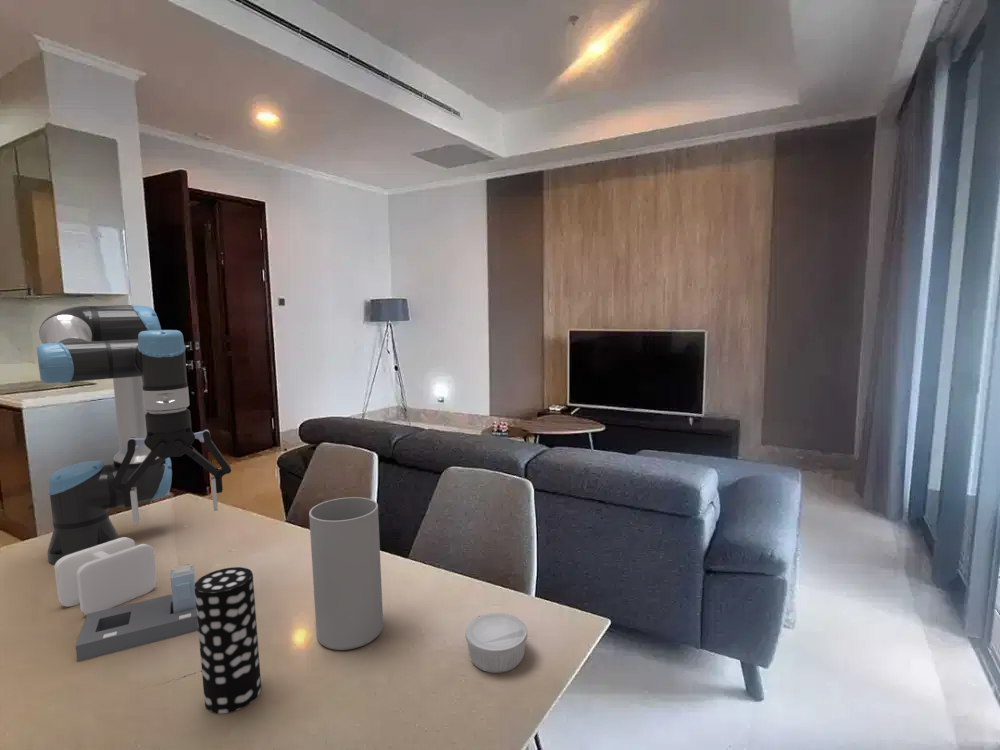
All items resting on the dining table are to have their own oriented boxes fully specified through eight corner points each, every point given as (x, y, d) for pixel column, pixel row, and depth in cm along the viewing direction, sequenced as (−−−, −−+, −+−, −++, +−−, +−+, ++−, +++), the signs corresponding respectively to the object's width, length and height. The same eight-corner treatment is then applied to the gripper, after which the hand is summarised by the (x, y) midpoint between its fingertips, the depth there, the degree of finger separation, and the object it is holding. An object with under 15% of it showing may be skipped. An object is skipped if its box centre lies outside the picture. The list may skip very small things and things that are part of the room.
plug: (175, 616, 112) (170, 567, 111) (197, 611, 114) (193, 562, 113) (174, 628, 108) (169, 577, 107) (197, 622, 110) (193, 572, 109)
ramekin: (507, 686, 91) (506, 657, 90) (453, 664, 97) (452, 636, 96) (538, 650, 100) (538, 623, 100) (487, 632, 106) (487, 606, 106)
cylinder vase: (395, 620, 111) (390, 500, 108) (360, 657, 99) (353, 524, 96) (342, 610, 115) (336, 494, 112) (302, 644, 103) (294, 517, 100)
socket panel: (89, 630, 109) (87, 613, 108) (213, 600, 119) (212, 584, 119) (77, 664, 98) (75, 645, 98) (215, 628, 109) (214, 610, 108)
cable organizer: (80, 624, 111) (73, 570, 110) (58, 609, 117) (51, 557, 115) (158, 591, 124) (153, 542, 122) (135, 579, 129) (130, 532, 128)
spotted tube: (218, 679, 94) (208, 568, 91) (268, 676, 94) (260, 565, 92) (195, 715, 85) (184, 594, 83) (250, 711, 86) (241, 591, 84)
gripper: (84, 420, 97) (97, 535, 100) (239, 406, 109) (247, 509, 112) (91, 413, 104) (103, 521, 106) (237, 401, 116) (244, 498, 118)
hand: (177, 515), depth 109 cm, fingers open, 13 cm apart
